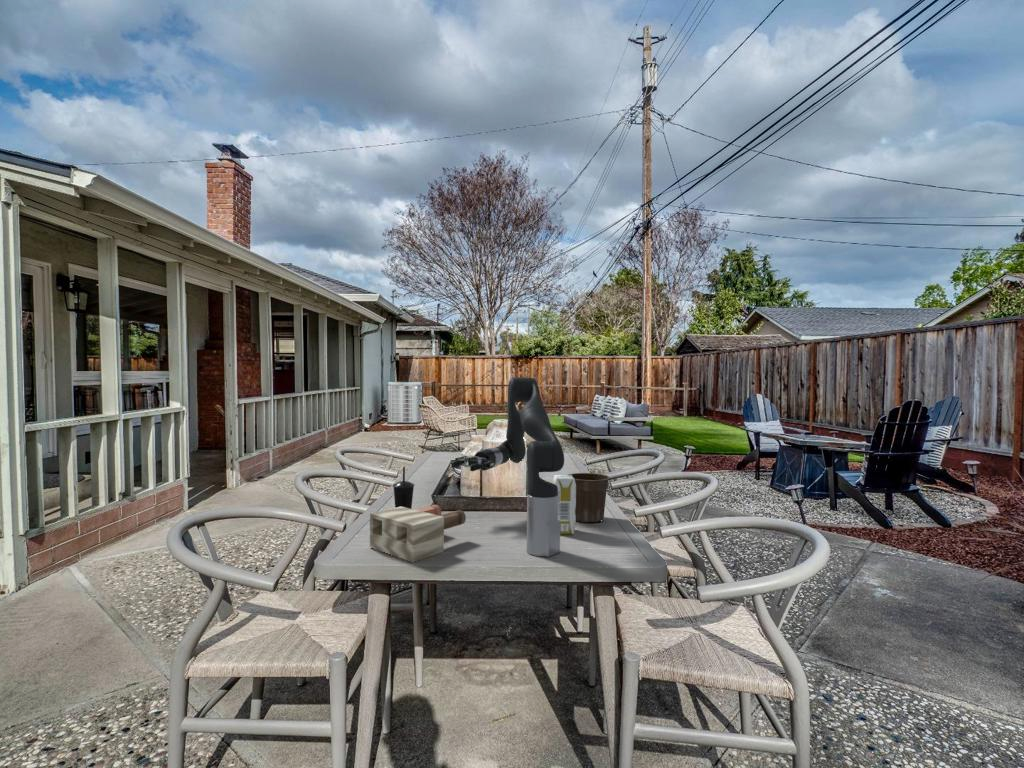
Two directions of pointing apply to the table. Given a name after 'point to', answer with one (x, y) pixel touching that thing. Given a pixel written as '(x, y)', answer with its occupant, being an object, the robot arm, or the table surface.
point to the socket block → (407, 533)
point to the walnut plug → (454, 519)
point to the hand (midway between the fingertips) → (461, 466)
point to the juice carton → (566, 502)
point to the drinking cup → (403, 493)
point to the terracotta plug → (432, 510)
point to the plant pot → (590, 496)
